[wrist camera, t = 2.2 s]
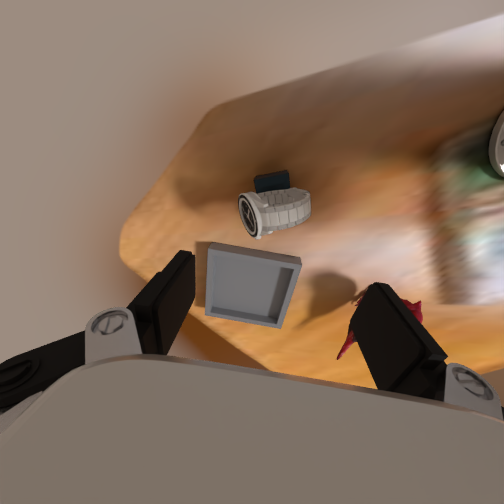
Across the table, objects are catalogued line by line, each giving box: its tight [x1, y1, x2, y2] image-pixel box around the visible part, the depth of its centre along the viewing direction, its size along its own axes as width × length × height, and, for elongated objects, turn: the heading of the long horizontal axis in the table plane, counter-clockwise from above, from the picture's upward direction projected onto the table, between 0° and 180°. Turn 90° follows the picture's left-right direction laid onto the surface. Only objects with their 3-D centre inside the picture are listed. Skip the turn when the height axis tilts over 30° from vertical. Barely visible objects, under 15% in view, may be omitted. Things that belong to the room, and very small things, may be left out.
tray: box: [205, 242, 302, 329], centre depth 36 cm, size 15×15×2 cm
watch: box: [238, 170, 311, 239], centre depth 23 cm, size 6×8×11 cm
